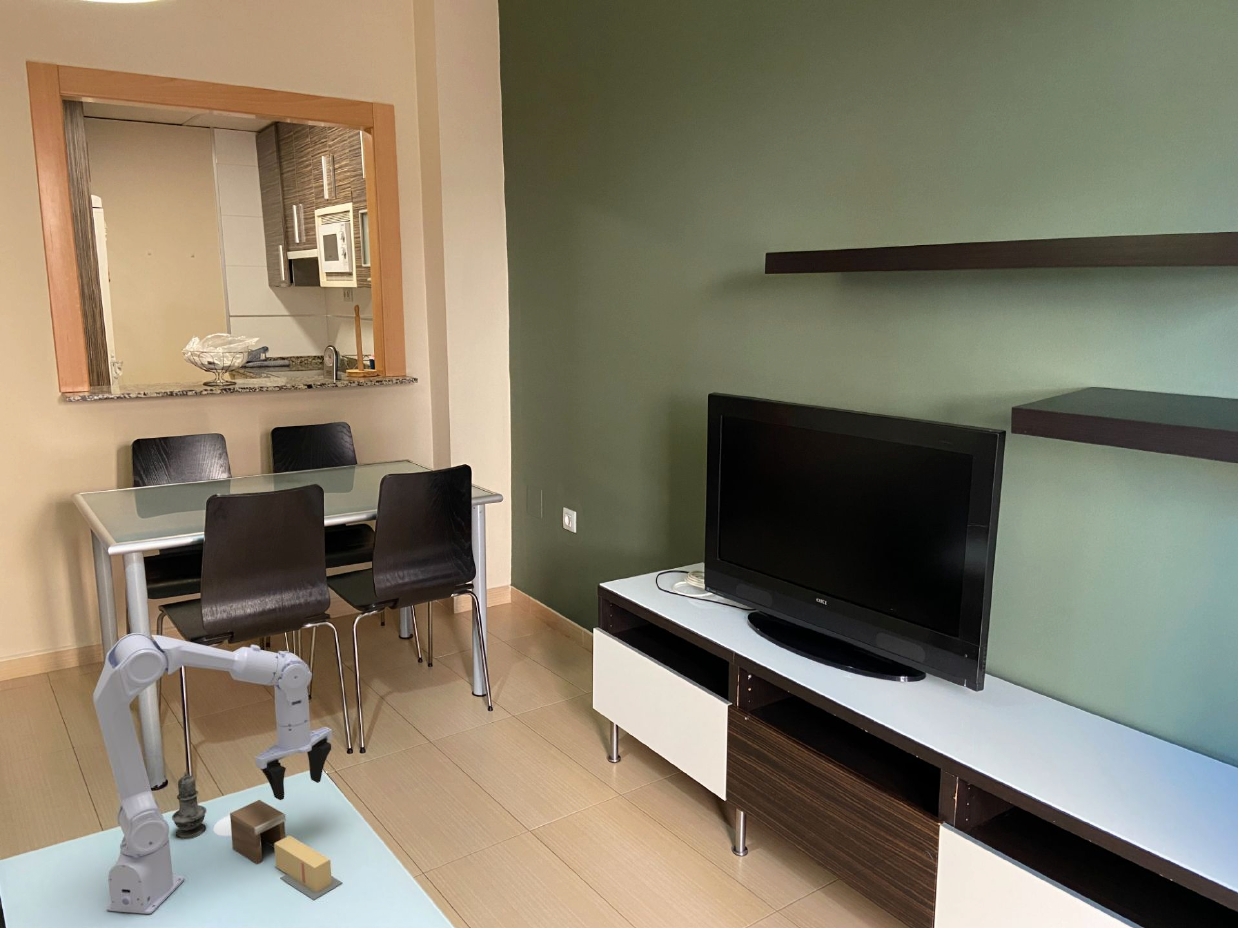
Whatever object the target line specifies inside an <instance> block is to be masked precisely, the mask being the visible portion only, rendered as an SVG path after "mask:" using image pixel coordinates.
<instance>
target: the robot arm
mask: <svg viewBox="0 0 1238 928" xmlns="http://www.w3.org/2000/svg"><path fill="white" fill-rule="evenodd" d="M150 636H151V637H150ZM150 636H149V635H147V634H145V633H140V632H134V633H133V632H132V633H129V634H125V635H124V636H122V637H121V638H119V640H118V641H117V642H116V643H115V644H114V645H113V646H112V647H111V648H110V650H108V651H107V653H106V656H105V660H104V666H103V669H102V671H101V673H100V677H99V678H98V681H97V683H96V686H95V688H94V692H93V694H92V701H93V704H94V705H93V706H94V709H95V713H96V717H97V720H98V724H99V728H100V732H101V735H102V738H103V742H104V745H105V749H106V753H107V757H108V761H109V764H110V769H111V772H112V775H113V778H114V783H115V787H116V790H117V795H118V796H117V798H118V802H119V808H118V812H117V817H116V819H117V824H118V825H119V827H120V828H121V831H122V833H123V838H122V840H121V843H120V845H119V849H120V850H119V857H118V858H117V861H116V862H115V864H114V865H113V866H112V868H111V869H110V870H109V873H108V880H107V881H108V887H109V889H108V890H109V897H110V904H109V905H107V907H106V910H107V911H109V912H119V913H121V912H124V913H134V914H147V915H149V914H152V913H154V912H155V911H156V910H157V909H158V907H159V906H160V905H162V903H163V902H164V901H165V900H166V899H167V898H168V897H170V895H171V894H172V893H173V892H174V891H175V890H176V889H177V888H178V887H179V886H180V885H181V884H182V883H183V882H184V881H185V880H186V878H185V876H183V875H173V868H172V855H171V845H170V825H169V823H168V821H167V820H166V819H165V818H164V815H163V813H162V812H161V809H160V806H159V803H158V800H156V798H154V794H153V792H152V789H151V785H150V780H149V777H148V773H147V769H146V765H145V762H144V757H143V754H142V750H141V745H140V743H139V739H138V735H137V732H136V730H137V729H136V727H135V723H134V719H133V716H132V712H131V708H130V705H131V704H132V702H133V701H134V699H136V697H137V696H138V695H139V694H141V693H142V692H144V690H146V689H147V688H149V687H150V686H152V685H153V684H155V683H156V682H158V680H160V679H161V677H162V676H163V674H164V672H165V673H166V674H167V675H172V674H173V673H175V672H176V671H177V670H179V669H180V668H182V667H193V668H201V669H209V670H215V671H225V672H229V675H230V676H231V678H232V679H233V680H234V681H240V682H247V683H252V684H256V685H257V684H259V685H264V686H273V687H274V706H275V707H274V709H275V722H276V736H277V737H276V738H277V742H276V743H275V744H273V745H271V746H270V747H269V748H267V749H265V751H262V753H259V754H257V755H255V756H254V758H255V766H256V767H257V768H259V769H260V770H261V772H262V773H263V775H264V777H265V778H266V779H267V781H268V783H269V785H270V788H271V790H272V791H271V792H272V794H273V798H275V799H277V800H278V801H282V800H284V799H285V785H284V784H285V783H284V782H285V775H286V773H285V772H286V770H287V767H285V766H283V765H281V762H280V760H282V759H285V758H287V757H289V756H291V755H296V754H299V753H300V754H306V753H307V758H308V766H309V776H310V780H311V781H312V782H314V783H320V782H321V781H322V775H323V770H324V767H325V763H326V760H327V758H328V756H329V753H330V752H331V751H332V744H331V743H330V742H328V741H331V740H332V739H333V731H332V730H333V729H331V728H330V727H328V726H323V727H321V728H318V729H314V730H311V721H310V720H311V719H310V718H311V717H310V703H309V701H310V700H309V691H308V686H309V684H310V682H311V681H312V676H313V672H311V671H310V667H309V665H308V664H307V663H306V662H305V661H304V660H302V659H301V658H300V657H299V656H298V655H297V654H295V653H292V652H290V651H289V650H285V651H282V650H278V651H277V652H273V651H269V650H268V651H267V650H263V649H261V647H260V646H259V645H256V644H251V645H250V646H249V647H248V646H242V647H239V648H238V649H235V650H234V651H230V650H226V649H221V648H217V647H211V646H208V645H204V644H199V643H195V642H191V641H186V640H184V639H183V640H182V639H178V638H173V637H168V636H164V635H160V634H151V635H150ZM152 638H153V639H152Z"/></svg>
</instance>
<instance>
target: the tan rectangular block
mask: <svg viewBox="0 0 1238 928" xmlns="http://www.w3.org/2000/svg"><path fill="white" fill-rule="evenodd" d="M273 848H274V856H275V859H274V860H275V867H276V868H277V869H279V870H280V871H282V872H283V873H285V875H286V874H288V875H290V876H291V877H293V878H294V879H296V880H298V881H299V882H301V883H302V884H304V885H305V886H307V887H309V888H310V889H312V890H313V891H315V892H318V891H320V890H322V889H323V888H325V887H327V886H328V885H330V884H332V880H331V876H332V866H331V865H332V864H331V859H330V858H329V857H327V856H325V855H323V854H322V853H320V852H318V851H317V850H315V849H313V848H312V847H310V846H308V845H306V844H305V843H303V842H301V841H300V840H297V838H294V837H293V836H291V835H288V836H286V838H284V839H282V840H280V841H278V842H276V843H274V847H273Z"/></svg>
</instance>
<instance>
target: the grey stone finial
mask: <svg viewBox="0 0 1238 928" xmlns="http://www.w3.org/2000/svg"><path fill="white" fill-rule="evenodd" d="M177 788H178V789H177V790H178V794H177V796H176V799H177V800H178V802H179V808H178V810H177V811H175V812H174V813H173V815H172V816H171V820H172V821H173V823H174V825H175V827H177V830H175V833H174V835H175V837H176V838H177V839H180V840H189V839H193V838H196V837H199V836H201V835H203V834H204V832H205V831H206V830H207V826H206V824H204V823H203V822H204V820H205V817H206V813H207V808H206V807H205V806H203V805H200V804H199V803H198V797H197V796H198V795H199V792H198V790H197V789H196V780H195V777H194V776H193V775H190V774H189V773H187V772H186V771H185V772H184V773H183V776H181V777H180V778H179V779H178V782H177ZM200 834H201V835H200Z"/></svg>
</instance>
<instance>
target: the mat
mask: <svg viewBox="0 0 1238 928" xmlns="http://www.w3.org/2000/svg"><path fill="white" fill-rule="evenodd" d="M280 880H282V881H283V882H285V883H286V884H287V885H290V886H291V887H292V888H294V889H296V890H297V891H299V892H300V893H301V894H303V895H305V896H307V897H308V898H309V899H311V900H312V901H315V900H317V899H318V898H321V897H322V896H324V895H326V894H327V893H330V892H331V891H333V890H334V889H335V888H337V887H339V886H341V885H342V884H343V882H342V881H341V880H339V879H337V877H334V876H332V875H331V880H332V884H330V885H328V886H327V887H325V888H323V889H322V890H320V891H318V892H315V891H313V890H312V889H310V888H309V887H307V886H305V885H304V884H302V883H301V882H299V881H298V880H296V879H294V878H293V877H291V876H290V875H288V874H286V873H285V874H284V875H283V876H281V877H280Z"/></svg>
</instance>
